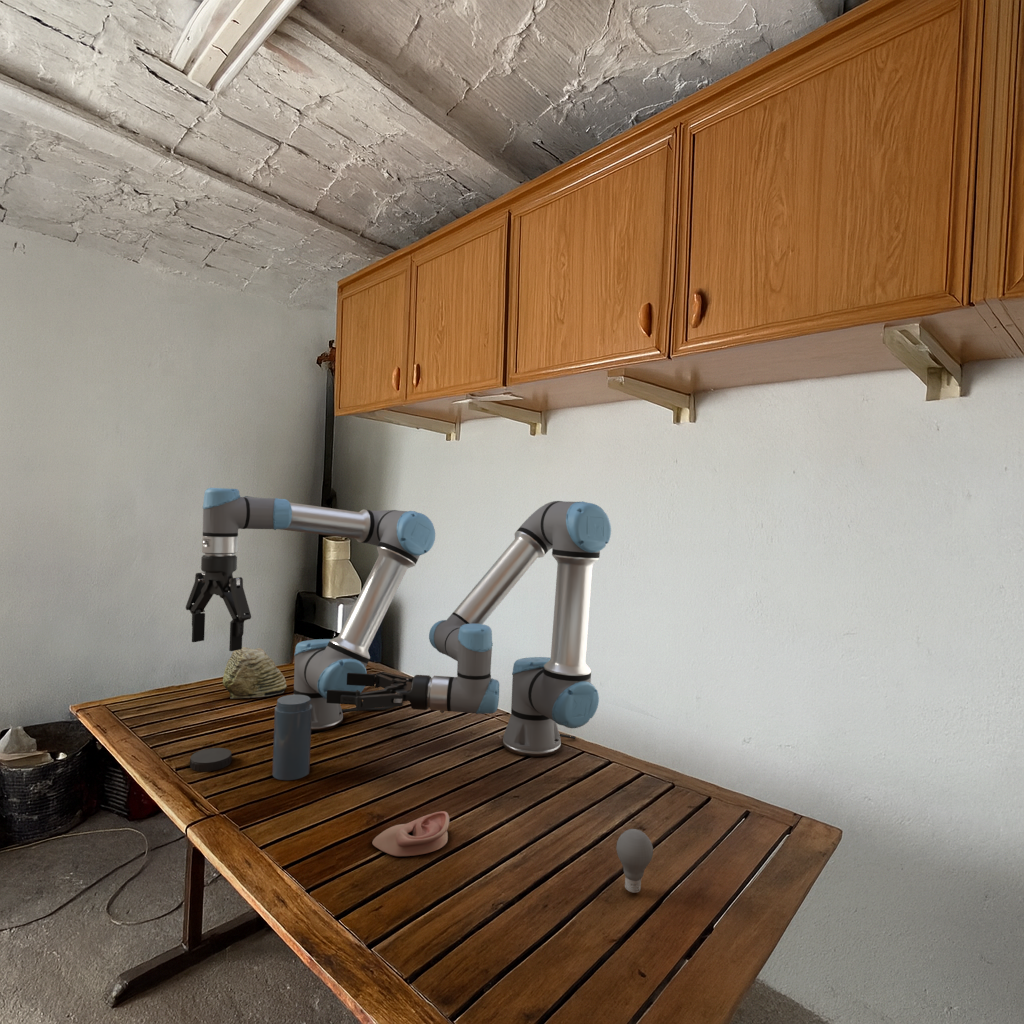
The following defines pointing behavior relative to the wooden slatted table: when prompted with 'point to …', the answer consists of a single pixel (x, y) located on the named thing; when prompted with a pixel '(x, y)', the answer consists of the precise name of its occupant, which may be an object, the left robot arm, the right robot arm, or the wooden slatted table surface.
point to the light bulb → (634, 857)
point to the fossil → (252, 674)
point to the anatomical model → (415, 836)
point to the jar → (292, 737)
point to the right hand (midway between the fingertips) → (337, 687)
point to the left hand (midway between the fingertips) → (216, 645)
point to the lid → (210, 759)
